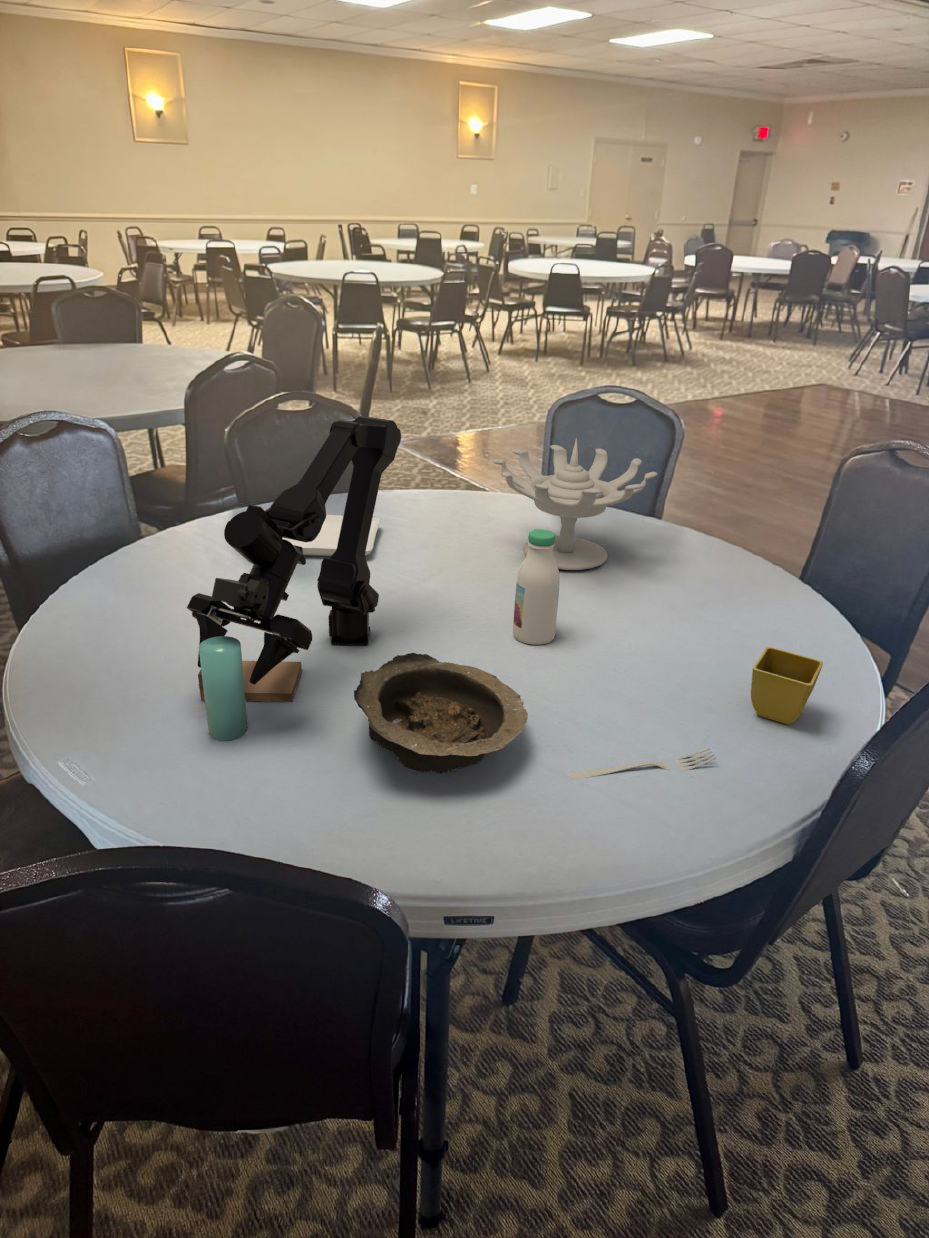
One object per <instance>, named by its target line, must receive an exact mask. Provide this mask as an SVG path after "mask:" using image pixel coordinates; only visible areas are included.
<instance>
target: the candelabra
mask: <svg viewBox="0 0 929 1238" xmlns="http://www.w3.org/2000/svg"><path fill="white" fill-rule="evenodd" d="M549 448H550V449H551V450H552V451H553V457H552V458H553V459H552V461H553V474H550V475H543V473H541V472H539V471H538V470H537V469H536V468H535V466H534V465H533V464H532V462H531V460H530V458H529V456H530V455H529V451H528V450H525V449H521V448H512V449H511V450H510V451H511V452H512V453H513V454H514V455H517V456H518V462H519V465H520V468H521V469H522V470H523V472H525V474H526V476H527V477H528V478H529V480H526V479H523V478H521V477H519V476H518V475H516V474H514V473H513V472H512V471H510V470H509V468H508V466H507V465H506V464H507V462H506V461H507V460H506V459H503V458H495V459H492V463H493V464H495V465H499V466H501V473H500V475H501V477H503V478H505V481H506V484H507V486H508V487H510V489H512V490H513V491H514V492H517V493H518V494H521V495H523V496H525V497H527V498H528V499H531V500H532V501H533V503H534V506H535V507H536V508H537V509H538V510H539V511H541V512H544V513H546V514H549V515H552V516H556V517H559V518H560V524H561V527H560V531H559V535H555V543H554V545H555V546H554V547H553V555H554V559H555V562H556V564H557V567H558V570H565V571H580V570H581V571H582V570H587V569H593V568H595V567H600V566H601V565H603V564H604V563H605V562H606V561H607V559H608V557H609V556H608V553H607V551H606V549H605V548H603V547H602V546H601V545H600V544H598V543H595V542H593V541H590V540H588V539H585V538H581V537H576V536H575V534H576V533H575V525H576V523H577V520H578V519H579V518H580V519H583V518H591V517H596V516H599V515H601V514H603V513H604V512H605V510H606V508H607V507H609V506H612V505H616V504H620V503H622V502H625V501H628V500H629V499H631V497H632V496H633V495H635V494H636V493H640V492H642V491H643V489H644V488H645V487H646V485H647V481H648V480H651V479H653V478H655V477H657V475H658V472H656V471H649V472H647V473H645V474H644V478H643V480H642V481H641V483H636V484H629V485H626V484H627V483H629V482H630V481H632V480H633V479H634V478H635V477H636V475H637V474H638V469H639V467H640V466H641V465H642V462H643V460H641V459H640V458H638V457H636V458H633V459H632V460H631V462H630V463H629V464H630V465H629V467H628V469H627V470H626V472H624V473H622V474H621V475H620V476H618V477H617V478H615V479H613V480H610V481H604V480H601V478H602V475H603V473H604V471H605V470H606V468H607V464H608V462H609V461H608V459H609V457H608V451H606V449H603V448H595V450H594V451H595V456H594V459H593V462H592V464H591V466H590V468H589V470H586V469H585V468H584V467H583V466H582V465H580V464H579V456H578V455H579V454H578V452H579V451H578V439H577V436H576V438H575V441H574V446H573V449H572V454H571V457H570V461H569V462H568V450H567V449H566V448H564V447H563V446H561V445H558V444H553V445H549ZM625 485H626V486H625ZM623 486H625V488H624V489H622V490H621V489H620V488H622V487H623ZM528 550H529V545H528V542H527V543H526V544H525V545H524V547H523V552H524V555H525V556H526V555H527V553H528Z"/></svg>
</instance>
